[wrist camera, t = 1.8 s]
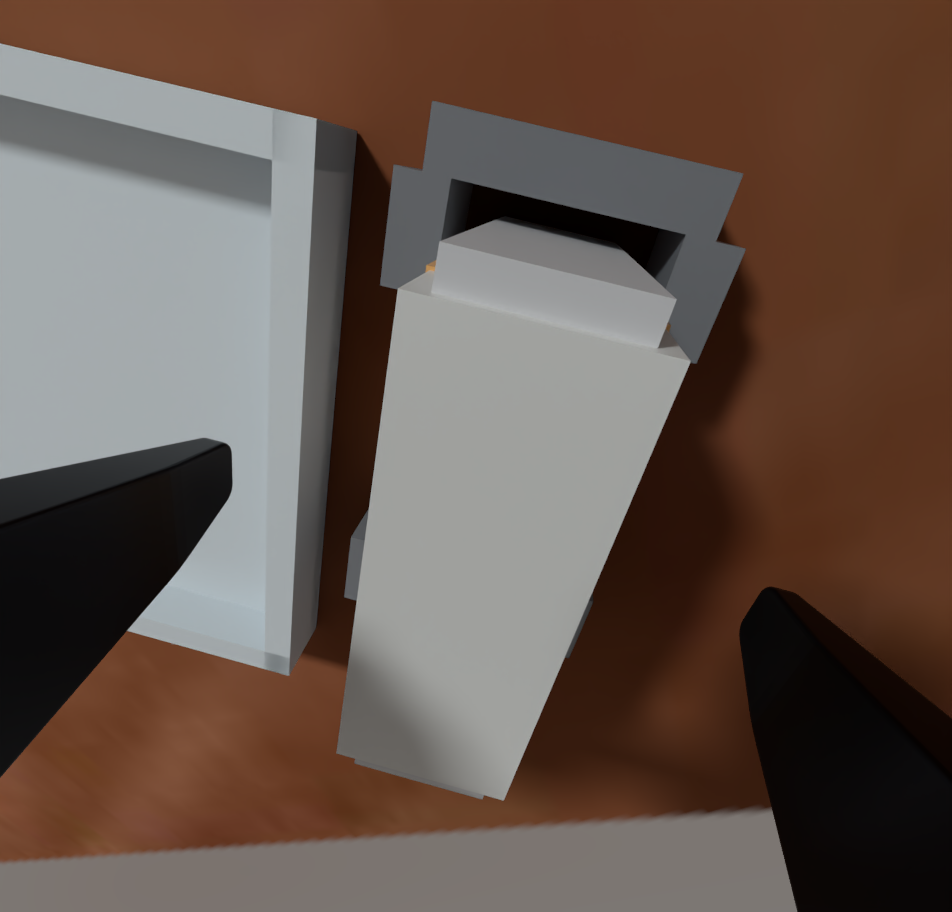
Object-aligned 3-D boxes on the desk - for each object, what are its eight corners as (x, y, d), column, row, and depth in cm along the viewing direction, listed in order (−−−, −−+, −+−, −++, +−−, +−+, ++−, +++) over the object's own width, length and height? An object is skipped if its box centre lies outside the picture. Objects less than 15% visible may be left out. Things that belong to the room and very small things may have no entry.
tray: (356, 130, 11) (316, 118, 9) (316, 627, 18) (288, 675, 16) (-209, -4, 11) (-354, -41, 9) (-31, 532, 18) (-95, 569, 16)
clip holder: (729, 184, 10) (775, 181, 8) (558, 615, 16) (557, 683, 14) (436, 115, 10) (401, 93, 8) (371, 564, 16) (341, 624, 14)
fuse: (630, 245, 11) (717, 312, 5) (525, 564, 15) (499, 816, 9) (490, 211, 11) (399, 233, 5) (424, 537, 15) (332, 768, 9)
